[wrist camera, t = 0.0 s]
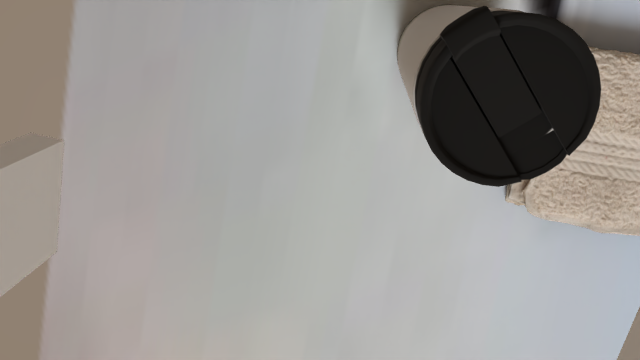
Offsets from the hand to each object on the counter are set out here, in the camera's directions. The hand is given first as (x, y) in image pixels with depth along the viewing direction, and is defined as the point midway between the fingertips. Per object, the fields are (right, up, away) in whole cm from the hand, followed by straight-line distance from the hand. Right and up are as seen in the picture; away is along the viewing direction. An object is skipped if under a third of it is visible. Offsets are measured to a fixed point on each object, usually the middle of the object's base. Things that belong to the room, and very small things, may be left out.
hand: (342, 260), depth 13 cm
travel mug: (+8, +10, +26) cm, 29 cm away
